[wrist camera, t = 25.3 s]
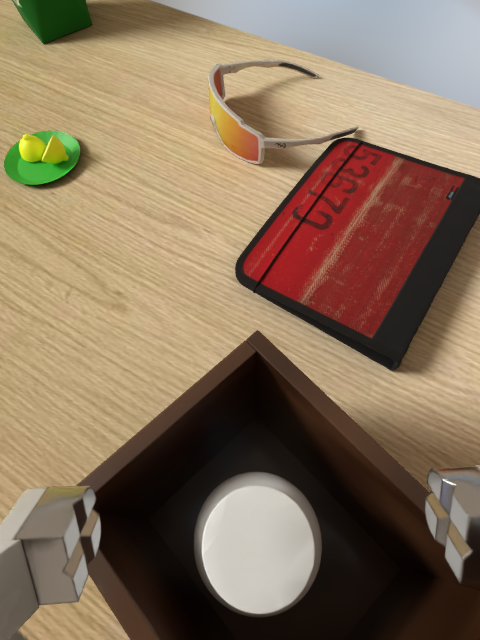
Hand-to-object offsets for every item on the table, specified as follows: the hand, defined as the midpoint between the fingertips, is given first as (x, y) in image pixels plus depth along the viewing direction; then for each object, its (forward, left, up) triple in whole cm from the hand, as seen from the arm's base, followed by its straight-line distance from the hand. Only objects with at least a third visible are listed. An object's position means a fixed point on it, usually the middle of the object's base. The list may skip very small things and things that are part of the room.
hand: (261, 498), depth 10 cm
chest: (0, -1, -20) cm, 20 cm away
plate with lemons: (+7, +41, -20) cm, 46 cm away
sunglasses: (+29, +28, -20) cm, 45 cm away
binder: (+23, +10, -20) cm, 33 cm away
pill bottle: (-1, 0, -19) cm, 19 cm away
